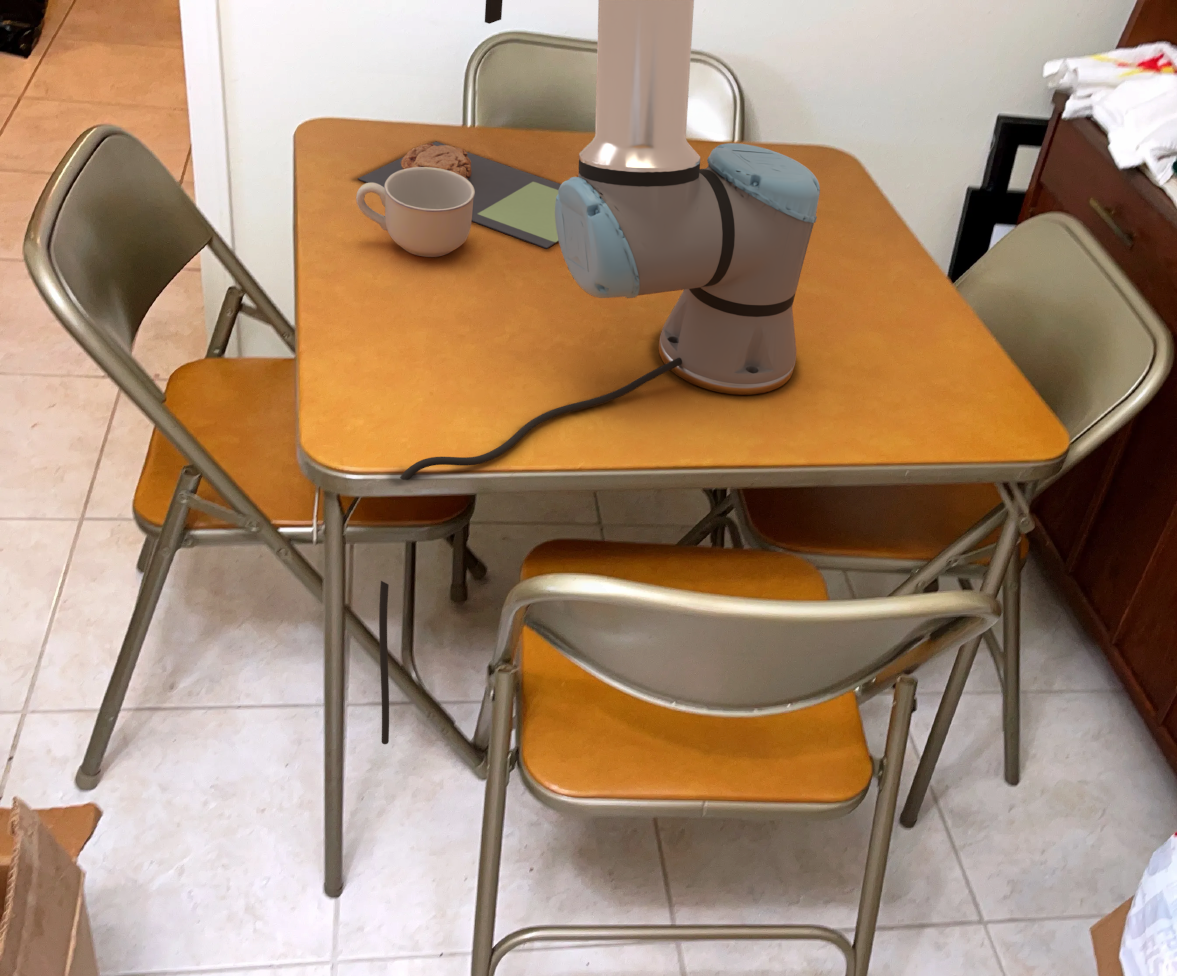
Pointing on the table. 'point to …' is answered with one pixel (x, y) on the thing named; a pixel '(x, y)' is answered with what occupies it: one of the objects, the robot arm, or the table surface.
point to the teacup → (423, 209)
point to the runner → (502, 199)
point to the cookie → (438, 159)
